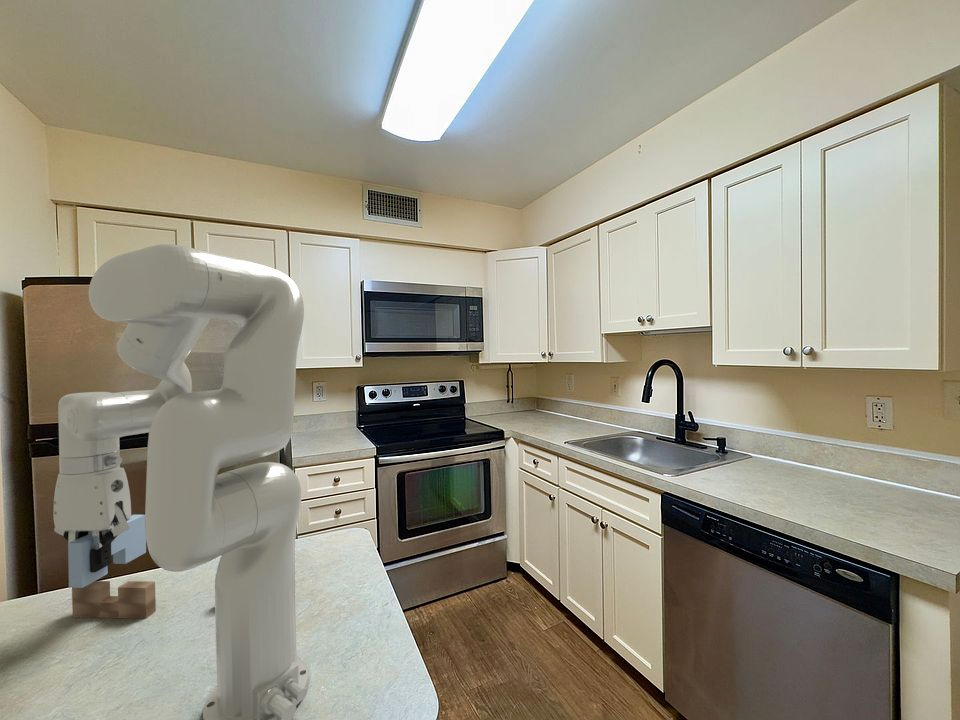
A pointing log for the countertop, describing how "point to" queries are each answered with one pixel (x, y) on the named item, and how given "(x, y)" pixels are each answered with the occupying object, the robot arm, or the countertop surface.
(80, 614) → the walnut slot plate
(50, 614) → the countertop surface
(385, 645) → the countertop surface
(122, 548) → the blue slot plate
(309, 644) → the countertop surface
